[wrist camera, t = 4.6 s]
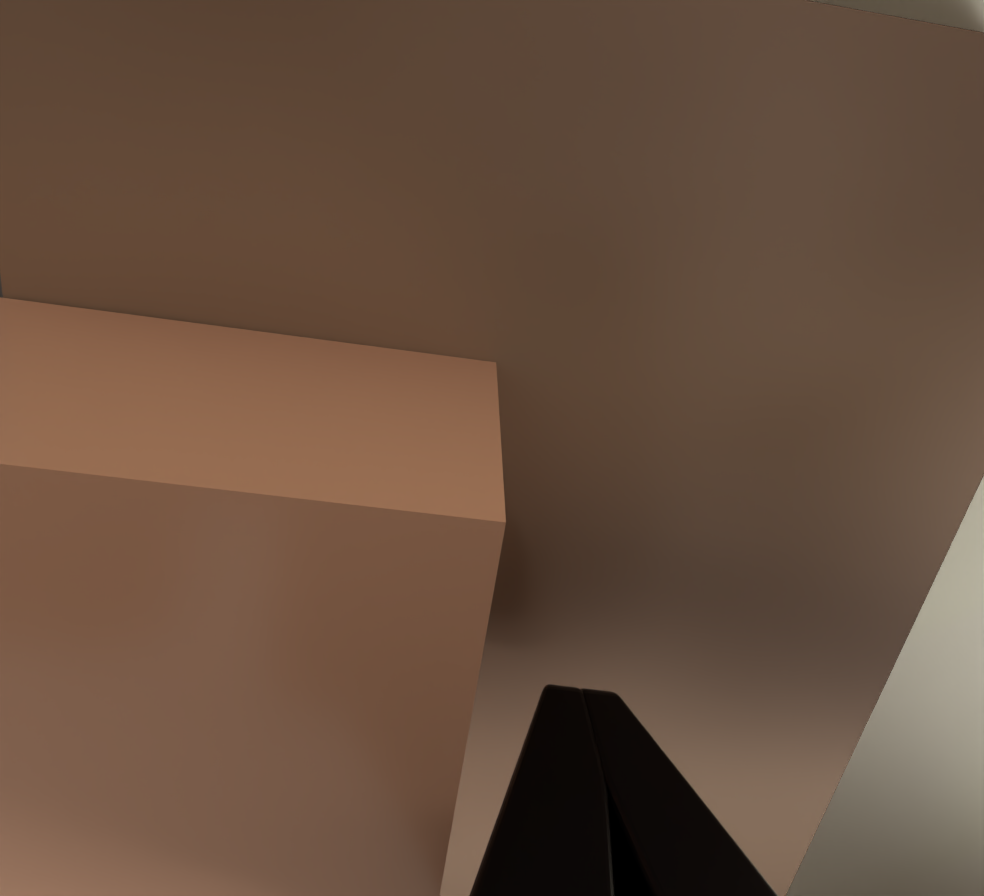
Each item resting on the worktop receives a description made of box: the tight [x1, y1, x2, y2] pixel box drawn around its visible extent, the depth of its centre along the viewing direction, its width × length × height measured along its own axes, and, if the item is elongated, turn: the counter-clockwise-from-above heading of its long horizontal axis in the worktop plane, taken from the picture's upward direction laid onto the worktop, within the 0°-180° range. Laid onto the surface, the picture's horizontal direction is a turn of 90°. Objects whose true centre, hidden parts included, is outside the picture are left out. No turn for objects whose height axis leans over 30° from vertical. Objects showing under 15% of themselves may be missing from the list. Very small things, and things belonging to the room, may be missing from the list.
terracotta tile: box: [0, 297, 506, 896], centre depth 8 cm, size 7×8×3 cm
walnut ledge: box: [0, 0, 984, 896], centre depth 11 cm, size 14×10×2 cm
